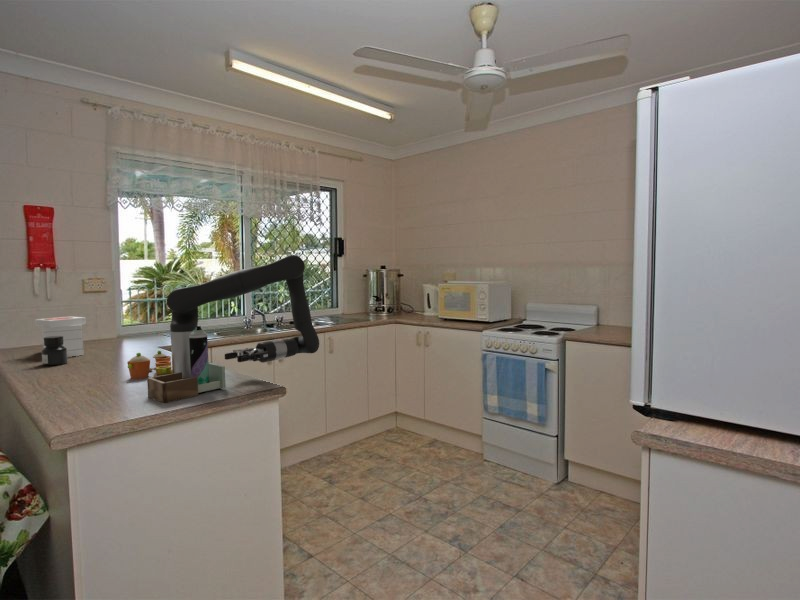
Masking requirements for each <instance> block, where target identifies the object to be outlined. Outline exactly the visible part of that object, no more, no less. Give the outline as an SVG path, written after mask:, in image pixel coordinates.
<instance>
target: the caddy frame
mask: <svg viewBox="0 0 800 600" xmlns="http://www.w3.org/2000/svg"><path fill="white" fill-rule="evenodd" d="M146 382H147V383H146V384H147V397H148V398H150V399H152V400H155V401H158V402H160V403H163V404H167V403H172V402H176V401H180V400H185V399H189V398H190V399H191V398H193V397H194V398H195V397H198V396H199V393H198V378H197V377H192V378H191V377H189V378H182V372H179V373H173V374H167V375H162V376H156V377H154V376H151V377H147V380H146Z"/></svg>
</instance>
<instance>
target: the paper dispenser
mask: <svg viewBox="0 0 800 600" xmlns="http://www.w3.org/2000/svg"><path fill="white" fill-rule="evenodd" d="M86 320H87V319H86V316H85V317H84V316H73V315H72V316H59V317H48V318H47V317H46V318H36V319H35V320H34V321H35V327H41V334H42V335H41V337H42V341H41V342H42V350H43V349H44V348H45V347H46V346H44V337H50V336H63V341H64V343H63V345H62V346H64V347H66V348H67V358H73V357H72V356H76V357H80V356H79V355H84V354H85V353H84V339H83V338H84V336H83V325H86V324H87V322H86ZM84 356H85V355H84Z"/></svg>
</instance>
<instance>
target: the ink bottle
mask: <svg viewBox="0 0 800 600" xmlns="http://www.w3.org/2000/svg"><path fill="white" fill-rule="evenodd" d="M63 343H64V341H63V336H50V337H44V346H46V347H45V348H44V349H43V348H42V350H41V364H42V366H44V367H50V366H51V367H53V365H54V366H61V365H66V364H67V363H68V362H69V361H68V357H67V348H66V347H64V346H62V345H63Z"/></svg>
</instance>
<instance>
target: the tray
mask: <svg viewBox="0 0 800 600" xmlns="http://www.w3.org/2000/svg"><path fill="white" fill-rule="evenodd" d="M208 364H209V383H205V384H200V385H198V394H199V393H203V392H210V391H213V390H217V389H226V386H227V385H226V367H225V365H219V364H216V363H213V362H210V361H208Z"/></svg>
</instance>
